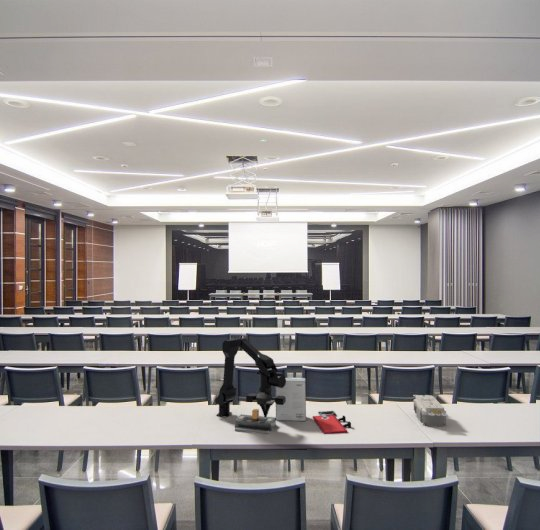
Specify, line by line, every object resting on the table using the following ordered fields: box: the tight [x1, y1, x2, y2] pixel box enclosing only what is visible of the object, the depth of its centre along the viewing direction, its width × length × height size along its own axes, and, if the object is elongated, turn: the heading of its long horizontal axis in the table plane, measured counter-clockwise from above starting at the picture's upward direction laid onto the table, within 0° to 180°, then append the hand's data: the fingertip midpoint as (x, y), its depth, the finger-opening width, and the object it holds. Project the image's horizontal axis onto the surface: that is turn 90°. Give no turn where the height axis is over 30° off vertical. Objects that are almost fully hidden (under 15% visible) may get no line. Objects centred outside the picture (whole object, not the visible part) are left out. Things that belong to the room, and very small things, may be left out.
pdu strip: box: [234, 414, 277, 432], centre depth 203 cm, size 9×18×4 cm, turn 74°
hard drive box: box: [274, 377, 307, 422], centre depth 215 cm, size 16×8×20 cm, turn 84°
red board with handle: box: [312, 410, 352, 435], centre depth 209 cm, size 30×3×15 cm
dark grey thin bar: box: [234, 426, 269, 435], centre depth 196 cm, size 2×16×1 cm, turn 74°
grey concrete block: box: [412, 394, 449, 427], centre depth 212 cm, size 12×28×10 cm, turn 177°
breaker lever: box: [251, 408, 260, 419], centre depth 203 cm, size 3×2×4 cm
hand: (265, 416), depth 202 cm, fingers closed
